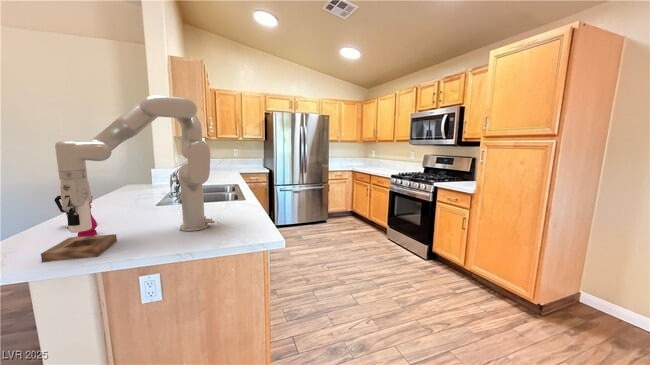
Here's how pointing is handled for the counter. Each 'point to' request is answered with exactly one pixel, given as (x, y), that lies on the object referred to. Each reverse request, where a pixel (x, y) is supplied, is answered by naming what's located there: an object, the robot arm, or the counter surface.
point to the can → (82, 219)
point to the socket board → (79, 248)
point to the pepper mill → (92, 231)
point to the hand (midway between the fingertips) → (79, 222)
